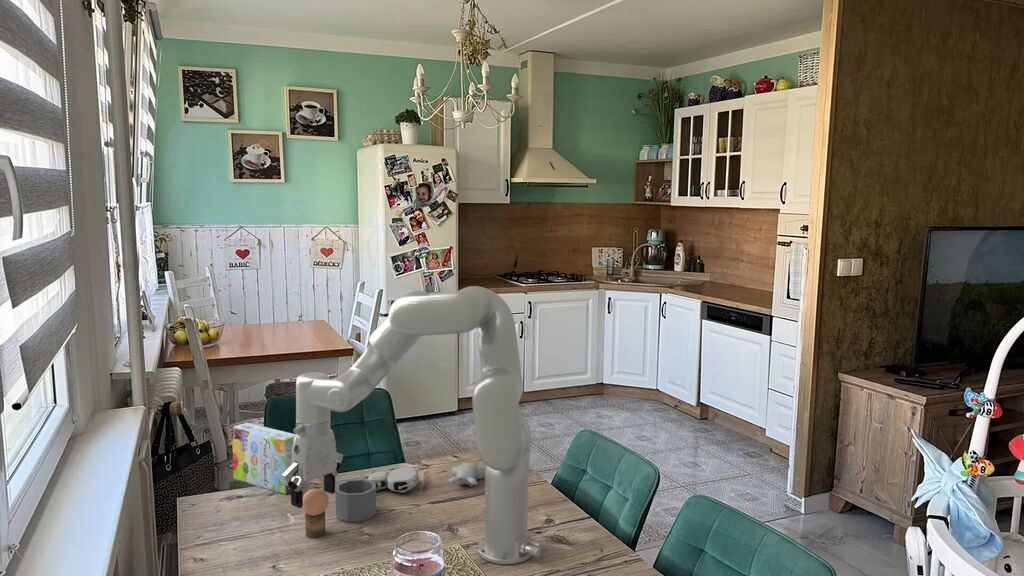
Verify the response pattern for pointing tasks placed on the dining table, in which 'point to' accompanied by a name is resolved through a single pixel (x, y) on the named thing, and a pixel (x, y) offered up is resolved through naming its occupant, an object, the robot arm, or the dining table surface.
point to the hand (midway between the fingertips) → (313, 499)
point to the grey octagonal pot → (355, 500)
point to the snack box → (262, 456)
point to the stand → (315, 525)
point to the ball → (315, 502)
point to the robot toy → (395, 479)
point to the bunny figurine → (467, 474)
